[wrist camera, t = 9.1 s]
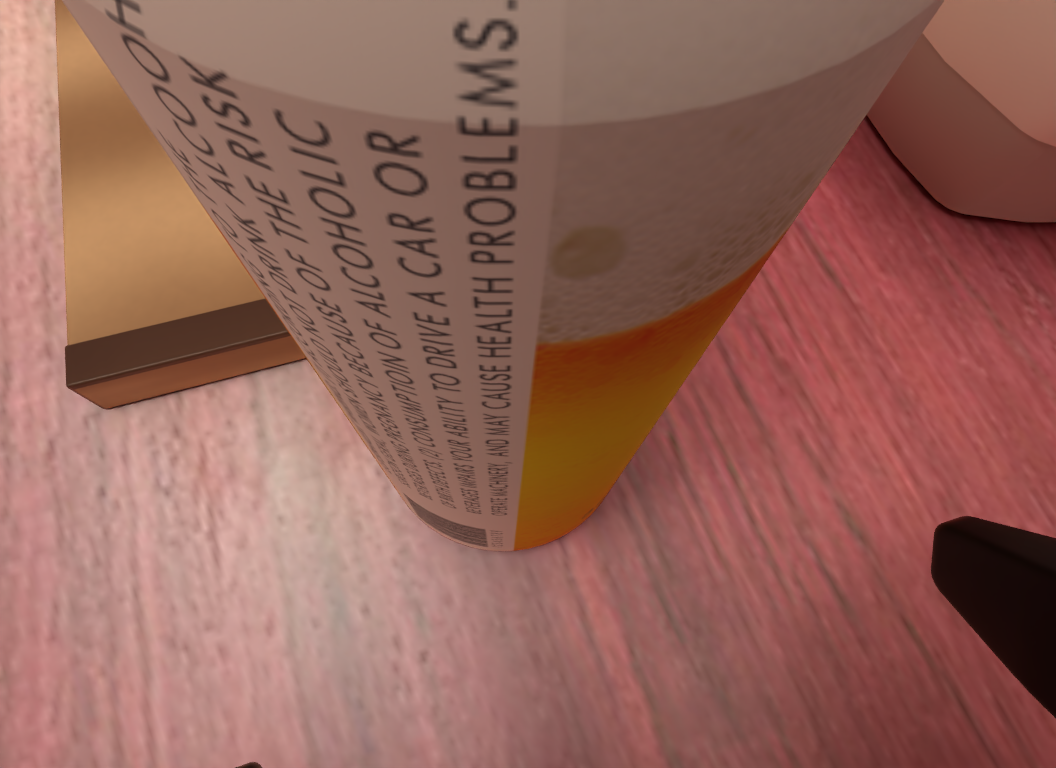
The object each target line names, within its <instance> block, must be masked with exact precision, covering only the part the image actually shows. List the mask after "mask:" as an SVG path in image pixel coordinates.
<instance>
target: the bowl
mask: <svg viewBox="0 0 1056 768" xmlns="http://www.w3.org/2000/svg"><path fill="white" fill-rule="evenodd" d="M867 116H868V117H869V119H870V120H871V122H872V123H873V125H874V126H875V128H876V129H877V130H878V132H879V133H880V135H881V136H882V138H883V139H884V141H885V142H886V143H887V145H888V146H889V148H890V149H891V151H892V152H893V154H894V155H895V156H896V157H897V158H898V159H899V160H900V161H901V163H902V164H903V165H904V166H905V167H906V168H907V169H908V170H909V171H910V172H911V174H912V175H913V176H914V177H915V178H916V179H917V180H918V181H919V182H920V183H921V185H922V186H923V187H924V188H925V189H926V190H927V191H928V192H929V193H930V194H931V195H932V197H933V198H934V199H935V200H936V201H938V202H939V203H941V204H942V205H944V206H945V207H947V208H948V209H951V210H953V211H956V212H959V213H962V214H967V215H974V216H982V217H989V218H997V219H1004V220H1011V221H1019V222H1056V0H944V2H943V3H942V5H941V6H940V8H939V9H938V11H937V12H936V14H935V15H934V17H933V18H932V19H931V21H930V22H929V24H928V25H927V27H926V28H925V30H924V31H923V33H922V34H921V36H920V37H919V38H918V40H917V41H916V43H915V44H914V46H913V47H912V49H911V50H910V52H909V53H908V55H907V56H906V58H905V59H904V60H903V62H902V63H901V65H900V66H899V68H898V69H897V71H896V72H895V74H894V75H893V77H892V78H891V79H890V81H889V82H888V84H887V85H886V87H885V88H884V90H883V91H882V93H881V94H880V96H879V97H878V99H877V100H876V101H875V103H874V104H873V106H872V107H871V109H870V110H869V112H868V113H867Z"/></svg>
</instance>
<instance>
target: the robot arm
mask: <svg viewBox="0 0 1056 768" xmlns="http://www.w3.org/2000/svg"><path fill="white" fill-rule="evenodd" d="M931 574H932V578H933V580H934V583H935V584H936V586H937V588H938V589H939V591H940V592H941V593H942V594H943V595H944V596H945V598H946V599H947V600H948V601H949V602H950V603H951V604H952V606H953V607H954V608H955V609H956V610H957V611H958V612H959V614H960V615H961V616H962V617H963V618H964V619H965V620H966V622H967V623H968V624H969V625H970V626H971V627H972V628H973V629H974V631H975V632H976V633H977V634H978V635H979V636H980V637H981V639H982V640H983V641H984V642H985V643H986V644H987V645H988V647H989V648H990V649H991V650H992V651H993V652H994V653H995V655H996V656H997V657H998V658H999V659H1000V660H1001V661H1002V663H1003V664H1004V665H1005V666H1006V667H1007V668H1008V669H1009V671H1010V672H1011V673H1012V674H1013V675H1014V676H1015V677H1016V678H1017V679H1018V680H1019V682H1020V683H1021V684H1022V685H1023V686H1024V687H1025V688H1026V689H1027V690H1028V691H1029V692H1030V693H1031V694H1032V695H1033V696H1034V697H1035V698H1036V699H1037V700H1038V701H1039V702H1040V703H1041V704H1042V705H1043V706H1044V707H1045V708H1046V709H1047V710H1048V711H1049V712H1050V713H1051V714H1052V715H1053V716H1054V717H1055V718H1056V538H1052V537H1048V536H1045V535H1041V534H1037V533H1033V532H1029V531H1025V530H1021V529H1018V528H1014V527H1010V526H1006V525H1002V524H998V523H994V522H991V521H987V520H983V519H979V518H975V517H971V516H964V517H959V518H956V519H953V520H950V521H947V522H944V523H941V524H940V525H938V526H937V528H936V529H935V532H934V541H933V552H932V564H931ZM236 768H262V767H261V765H260V764H258V763H256V762H250V763H247V764H244V765H242V766H239V767H236Z"/></svg>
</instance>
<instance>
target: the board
mask: <svg viewBox="0 0 1056 768" xmlns="http://www.w3.org/2000/svg"><path fill="white" fill-rule="evenodd" d="M55 16H56V43H57V70H58V97H59V124H60V151H61V179H62V206H63V233H64V260H65V287H66V314H67V342H68V345H67V346H66V347H65V362H66V386H67V387H68V388H69V389H71V390H72V391H74V392H76V393H77V394H79V395H81V396H82V397H84V398H86V399H87V400H89V401H91V402H93V403H94V404H96V405H98V406H99V407H101V408H103V409H108V408H112V407H116V406H120V405H124V404H128V403H132V402H136V401H140V400H144V399H147V398H151V397H155V396H159V395H163V394H167V393H171V392H175V391H179V390H183V389H187V388H191V387H195V386H199V385H203V384H206V383H210V382H214V381H218V380H222V379H226V378H230V377H234V376H238V375H242V374H246V373H250V372H254V371H258V370H262V369H265V368H269V367H273V366H277V365H281V364H285V363H289V362H293V361H297V360H301V359H305V358H306V357H305V355H304V354H303V353H302V351H301V350H300V348H299V347H298V345H297V344H296V342H295V341H294V339H293V338H292V336H291V335H290V334H289V332H288V331H287V329H286V328H285V326H284V325H283V323H282V322H281V320H280V319H279V317H278V316H277V314H276V313H275V312H274V310H273V309H272V307H271V306H270V304H269V303H268V301H267V300H266V298H265V297H264V295H263V294H262V293H261V291H260V290H259V288H258V287H257V285H256V284H255V282H254V281H253V279H252V278H251V276H250V275H249V274H248V272H247V271H246V269H245V268H244V266H243V265H242V263H241V262H240V260H239V259H238V257H237V256H236V255H235V253H234V252H233V250H232V249H231V247H230V246H229V244H228V243H227V241H226V240H225V238H224V237H223V235H222V234H221V233H220V231H219V230H218V228H217V227H216V225H215V224H214V222H213V221H212V219H211V218H210V216H209V215H208V214H207V212H206V211H205V209H204V208H203V206H202V205H201V203H200V202H199V200H198V199H197V197H196V196H195V195H194V193H193V192H192V190H191V189H190V187H189V186H188V184H187V183H186V181H185V180H184V178H183V177H182V176H181V174H180V173H179V171H178V170H177V168H176V167H175V165H174V164H173V162H172V161H171V159H170V158H169V157H168V155H167V154H166V152H165V151H164V149H163V148H162V146H161V145H160V143H159V142H158V140H157V139H156V137H155V136H154V135H153V133H152V132H151V130H150V129H149V127H148V126H147V124H146V123H145V121H144V120H143V118H142V117H141V116H140V114H139V113H138V111H137V110H136V108H135V107H134V105H133V104H132V102H131V101H130V99H129V98H128V97H127V95H126V94H125V92H124V91H123V89H122V88H121V86H120V85H119V83H118V82H117V80H116V79H115V78H114V76H113V75H112V73H111V72H110V70H109V69H108V67H107V66H106V64H105V63H104V61H103V60H102V58H101V57H100V56H99V54H98V53H97V51H96V50H95V48H94V47H93V45H92V44H91V42H90V41H89V39H88V38H87V37H86V35H85V34H84V32H83V31H82V29H81V28H80V26H79V25H78V23H77V22H76V20H75V19H74V18H73V16H72V15H71V13H70V12H69V10H68V9H67V7H66V6H65V4H64V3H63V1H62V0H55Z"/></svg>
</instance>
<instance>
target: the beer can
mask: <svg viewBox="0 0 1056 768" xmlns="http://www.w3.org/2000/svg"><path fill="white" fill-rule="evenodd" d="M62 1H63V3H64V4H65V6H66V7H67V9H68V10H69V12H70V13H71V15H72V16H73V18H74V19H75V20H76V22H77V23H78V25H79V26H80V28H81V29H82V31H83V32H84V34H85V35H86V37H87V38H88V39H89V41H90V42H91V44H92V45H93V47H94V48H95V50H96V51H97V53H98V54H99V56H100V57H101V58H102V60H103V61H104V63H105V64H106V66H107V67H108V69H109V70H110V72H111V73H112V75H113V76H114V78H115V79H116V80H117V82H118V83H119V85H120V86H121V88H122V89H123V91H124V92H125V94H126V95H127V97H128V98H129V99H130V101H131V102H132V104H133V105H134V107H135V108H136V110H137V111H138V113H139V114H140V116H141V117H142V118H143V120H144V121H145V123H146V124H147V126H148V127H149V129H150V130H151V132H152V133H153V135H154V136H155V137H156V139H157V140H158V142H159V143H160V145H161V146H162V148H163V149H164V151H165V152H166V154H167V155H168V157H169V158H170V159H171V161H172V162H173V164H174V165H175V167H176V168H177V170H178V171H179V173H180V174H181V176H182V177H183V178H184V180H185V181H186V183H187V184H188V186H189V187H190V189H191V190H192V192H193V193H194V195H195V196H196V197H197V199H198V200H199V202H200V203H201V205H202V206H203V208H204V209H205V211H206V212H207V214H208V215H209V216H210V218H211V219H212V221H213V222H214V224H215V225H216V227H217V228H218V230H219V231H220V233H221V234H222V235H223V237H224V238H225V240H226V241H227V243H228V244H229V246H230V247H231V249H232V250H233V252H234V253H235V255H236V256H237V257H238V259H239V260H240V262H241V263H242V265H243V266H244V268H245V269H246V271H247V272H248V274H249V275H250V276H251V278H252V279H253V281H254V282H255V284H256V285H257V287H258V288H259V290H260V291H261V293H262V294H263V295H264V297H265V298H266V300H267V301H268V303H269V304H270V306H271V307H272V309H273V310H274V312H275V313H276V314H277V316H278V317H279V319H280V320H281V322H282V323H283V325H284V326H285V328H286V329H287V331H288V332H289V334H290V335H291V336H292V338H293V339H294V341H295V342H296V344H297V345H298V347H299V348H300V350H301V351H302V353H303V354H304V355H305V357H306V358H307V360H308V361H309V363H310V364H311V366H312V367H313V369H314V370H315V372H316V373H317V374H318V376H319V377H320V379H321V380H322V382H323V383H324V385H325V386H326V388H327V389H328V391H329V392H330V393H331V395H332V396H333V398H334V399H335V401H336V402H337V404H338V405H339V407H340V408H341V410H342V411H343V413H344V414H345V415H346V417H347V418H348V420H349V421H350V423H351V424H352V426H353V427H354V429H355V430H356V432H357V433H358V434H359V436H360V437H361V439H362V440H363V442H364V443H365V445H366V446H367V448H368V449H369V451H370V452H371V453H372V455H373V456H374V458H375V459H376V461H377V462H378V464H379V465H380V467H381V468H382V470H383V471H384V472H385V474H386V475H387V477H388V478H389V480H390V481H391V483H392V484H393V486H394V487H395V489H396V490H397V492H398V493H399V494H400V496H401V497H402V499H403V500H404V501H405V503H406V504H407V506H408V507H409V508H410V509H411V510H412V511H413V513H414V514H415V515H416V516H417V517H418V518H419V519H420V520H422V521H423V522H424V523H425V524H426V525H427V526H429V527H430V528H431V529H433V530H435V531H436V532H438V533H439V534H441V535H442V536H444V537H446V538H448V539H450V540H453V541H455V542H457V543H460V544H463V545H466V546H469V547H473V548H478V549H482V550H491V551H516V550H523V549H529V548H533V547H537V546H541V545H544V544H546V543H549V542H551V541H554V540H556V539H558V538H560V537H562V536H564V535H565V534H567V533H569V532H571V531H572V530H573V529H575V528H576V527H578V526H579V525H580V524H582V523H583V522H584V521H585V520H586V519H587V518H588V517H589V516H590V515H591V514H592V513H593V512H594V511H595V510H596V509H597V507H598V506H599V505H600V504H601V502H602V501H603V500H604V498H605V497H606V495H607V494H608V492H609V491H610V489H611V488H612V486H613V485H614V483H615V482H616V481H617V479H618V478H619V476H620V475H621V473H622V472H623V470H624V469H625V467H626V466H627V464H628V463H629V462H630V460H631V459H632V457H633V456H634V454H635V453H636V451H637V450H638V448H639V447H640V445H641V444H642V442H643V441H644V440H645V438H646V437H647V435H648V434H649V432H650V431H651V429H652V428H653V426H654V425H655V423H656V422H657V421H658V419H659V418H660V416H661V415H662V413H663V412H664V410H665V409H666V407H667V406H668V404H669V403H670V401H671V400H672V399H673V397H674V396H675V394H676V393H677V391H678V390H679V388H680V387H681V385H682V384H683V382H684V381H685V380H686V378H687V377H688V375H689V374H690V372H691V371H692V369H693V368H694V366H695V365H696V363H697V362H698V361H699V359H700V358H701V356H702V355H703V353H704V352H705V350H706V349H707V347H708V346H709V344H710V343H711V341H712V340H713V339H714V337H715V336H716V334H717V333H718V331H719V330H720V328H721V327H722V325H723V324H724V322H725V321H726V320H727V318H728V317H729V315H730V314H731V312H732V311H733V309H734V308H735V306H736V305H737V303H738V302H739V300H740V299H741V298H742V296H743V295H744V293H745V292H746V290H747V289H748V287H749V286H750V284H751V283H752V281H753V280H754V279H755V277H756V276H757V274H758V273H759V271H760V270H761V268H762V267H763V265H764V264H765V262H766V261H767V260H768V258H769V257H770V255H771V254H772V252H773V251H774V249H775V248H776V246H777V245H778V243H779V242H780V240H781V239H782V238H783V236H784V235H785V233H786V232H787V230H788V229H789V227H790V226H791V224H792V223H793V221H794V220H795V219H796V217H797V216H798V214H799V213H800V211H801V210H802V208H803V207H804V205H805V204H806V202H807V201H808V199H809V198H810V197H811V195H812V194H813V192H814V191H815V189H816V188H817V186H818V185H819V183H820V182H821V180H822V179H823V178H824V176H825V175H826V173H827V172H828V170H829V169H830V167H831V166H832V164H833V163H834V161H835V160H836V159H837V157H838V156H839V154H840V153H841V151H842V150H843V148H844V147H845V145H846V144H847V142H848V141H849V139H850V138H851V137H852V135H853V134H854V132H855V131H856V129H857V128H858V126H859V125H860V123H861V122H862V120H863V119H864V118H865V116H866V115H867V113H868V112H869V110H870V109H871V107H872V106H873V104H874V103H875V101H876V100H877V99H878V97H879V96H880V94H881V93H882V91H883V90H884V88H885V87H886V85H887V84H888V82H889V81H890V79H891V78H892V77H893V75H894V74H895V72H896V71H897V69H898V68H899V66H900V65H901V63H902V62H903V60H904V59H905V58H906V56H907V55H908V53H909V52H910V50H911V49H912V47H913V46H914V44H915V43H916V41H917V40H918V38H919V37H920V36H921V34H922V33H923V31H924V30H925V28H926V27H927V25H928V24H929V22H930V21H931V19H932V18H933V17H934V15H935V14H936V12H937V11H938V9H939V8H940V6H941V5H942V3H943V2H944V0H62Z"/></svg>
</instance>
